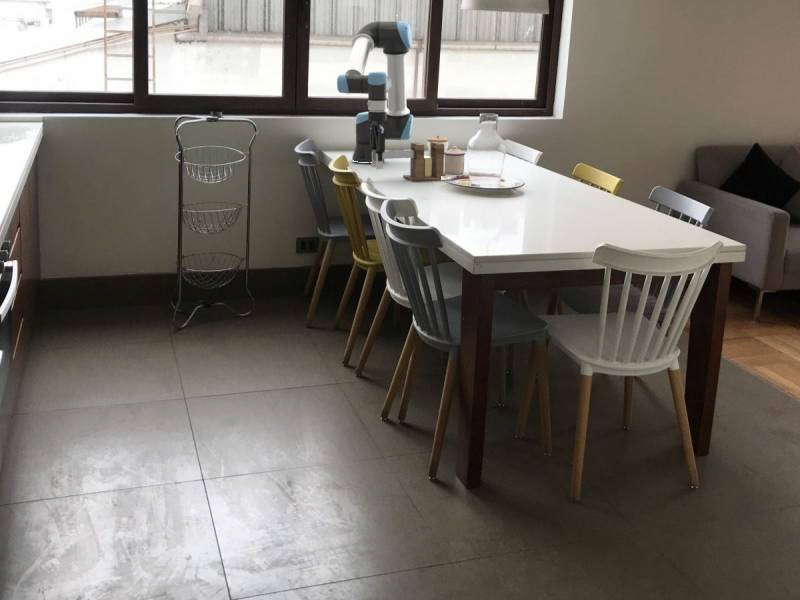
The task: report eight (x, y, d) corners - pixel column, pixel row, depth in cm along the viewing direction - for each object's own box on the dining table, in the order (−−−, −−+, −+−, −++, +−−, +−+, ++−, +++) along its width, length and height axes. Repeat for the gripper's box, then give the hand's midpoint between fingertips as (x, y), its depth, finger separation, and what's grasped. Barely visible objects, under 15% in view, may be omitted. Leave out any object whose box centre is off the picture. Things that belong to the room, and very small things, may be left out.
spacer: (418, 173, 405) (418, 155, 403) (425, 172, 406) (425, 155, 404) (424, 175, 399) (424, 157, 397) (431, 175, 400) (431, 157, 398)
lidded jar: (441, 156, 467) (441, 137, 464) (422, 154, 473) (423, 135, 470) (452, 154, 476) (452, 135, 473) (434, 152, 481) (434, 133, 479)
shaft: (372, 159, 395) (372, 149, 394) (417, 157, 401) (417, 147, 400) (376, 161, 391) (376, 150, 390) (421, 159, 398) (421, 148, 396)
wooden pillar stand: (403, 177, 406) (403, 142, 401) (439, 175, 411) (440, 140, 407) (413, 182, 395) (413, 145, 391) (450, 180, 401) (451, 144, 396)
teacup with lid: (467, 173, 417) (468, 147, 414) (449, 175, 414) (449, 148, 410) (456, 169, 428) (456, 143, 424) (437, 170, 424) (438, 144, 421)
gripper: (361, 109, 394) (362, 165, 401) (375, 113, 378) (375, 171, 385) (378, 108, 397) (378, 164, 403) (393, 112, 381) (393, 170, 388)
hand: (377, 167), depth 394 cm, fingers closed on shaft, 4 cm apart
